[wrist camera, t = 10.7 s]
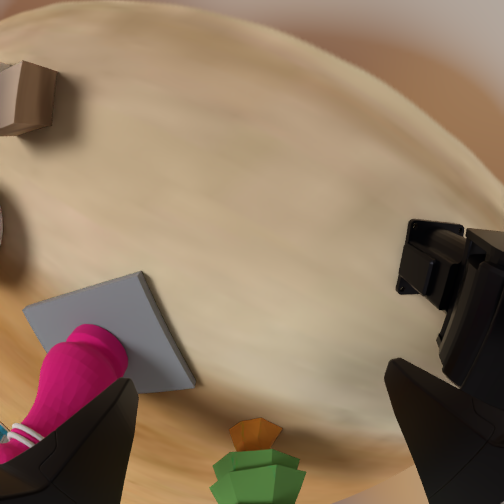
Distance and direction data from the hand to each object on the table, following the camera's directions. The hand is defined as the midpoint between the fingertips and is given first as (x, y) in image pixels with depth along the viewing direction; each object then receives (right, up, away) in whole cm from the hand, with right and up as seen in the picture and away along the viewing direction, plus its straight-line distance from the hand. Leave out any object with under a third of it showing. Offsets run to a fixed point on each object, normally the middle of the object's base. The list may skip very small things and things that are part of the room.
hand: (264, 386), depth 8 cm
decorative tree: (0, -16, +19) cm, 25 cm away
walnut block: (-19, +17, +8) cm, 27 cm away
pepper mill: (-15, -5, +14) cm, 21 cm away
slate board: (-15, -5, +15) cm, 22 cm away
